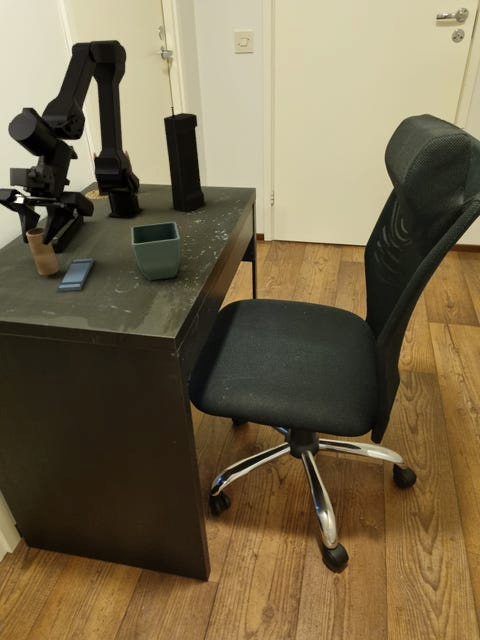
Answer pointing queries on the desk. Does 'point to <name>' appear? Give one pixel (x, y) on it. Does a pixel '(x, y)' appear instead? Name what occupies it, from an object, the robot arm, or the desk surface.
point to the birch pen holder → (42, 252)
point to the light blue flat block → (76, 275)
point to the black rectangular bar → (67, 233)
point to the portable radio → (183, 161)
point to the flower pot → (157, 249)
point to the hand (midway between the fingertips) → (35, 243)
